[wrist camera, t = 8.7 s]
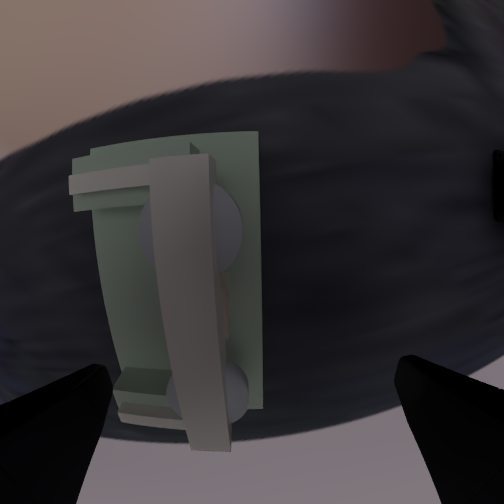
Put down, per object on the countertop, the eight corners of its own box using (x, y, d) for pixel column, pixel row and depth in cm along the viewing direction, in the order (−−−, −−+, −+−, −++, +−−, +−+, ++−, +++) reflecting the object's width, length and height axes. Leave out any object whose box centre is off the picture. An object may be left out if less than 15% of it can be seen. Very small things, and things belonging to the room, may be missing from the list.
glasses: (241, 160, 13) (240, 151, 10) (250, 418, 17) (250, 451, 14) (80, 176, 13) (48, 175, 10) (126, 411, 17) (113, 439, 14)
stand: (257, 134, 17) (261, 119, 13) (262, 400, 21) (265, 435, 17) (97, 150, 17) (66, 143, 13) (135, 396, 21) (121, 426, 17)
